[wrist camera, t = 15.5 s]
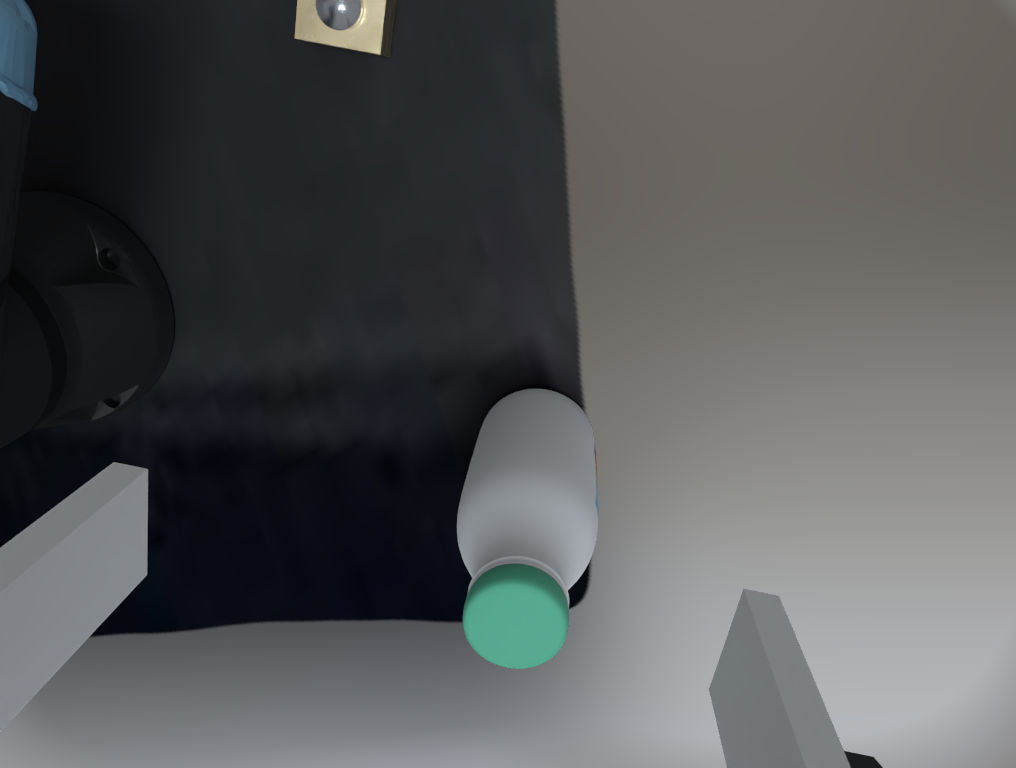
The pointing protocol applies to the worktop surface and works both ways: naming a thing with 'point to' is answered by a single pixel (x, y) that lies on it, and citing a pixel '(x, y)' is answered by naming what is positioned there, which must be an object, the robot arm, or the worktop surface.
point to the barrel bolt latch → (347, 24)
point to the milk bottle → (527, 525)
